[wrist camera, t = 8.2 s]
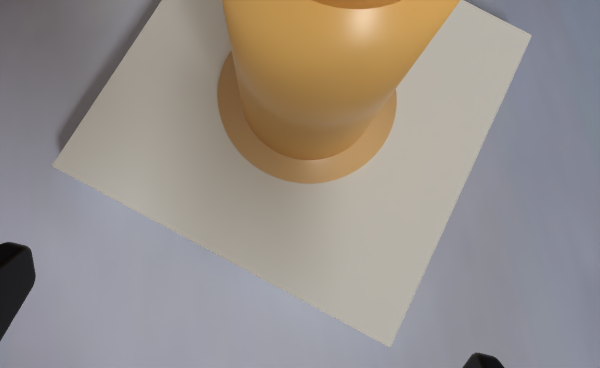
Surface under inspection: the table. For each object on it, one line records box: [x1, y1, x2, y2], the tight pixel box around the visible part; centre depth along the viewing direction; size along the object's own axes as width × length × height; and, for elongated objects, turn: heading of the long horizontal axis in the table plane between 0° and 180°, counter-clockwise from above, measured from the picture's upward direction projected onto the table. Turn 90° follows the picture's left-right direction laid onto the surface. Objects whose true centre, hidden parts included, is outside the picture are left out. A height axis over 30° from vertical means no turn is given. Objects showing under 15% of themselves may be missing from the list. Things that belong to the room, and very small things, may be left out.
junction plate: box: [52, 0, 532, 347], centre depth 17 cm, size 14×14×1 cm
